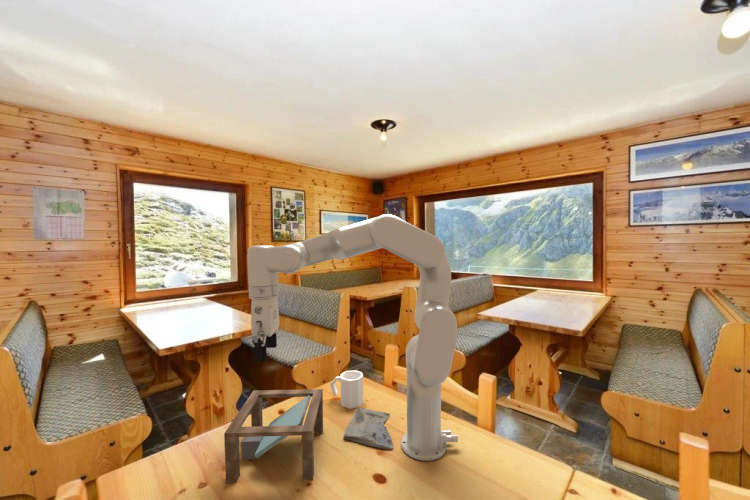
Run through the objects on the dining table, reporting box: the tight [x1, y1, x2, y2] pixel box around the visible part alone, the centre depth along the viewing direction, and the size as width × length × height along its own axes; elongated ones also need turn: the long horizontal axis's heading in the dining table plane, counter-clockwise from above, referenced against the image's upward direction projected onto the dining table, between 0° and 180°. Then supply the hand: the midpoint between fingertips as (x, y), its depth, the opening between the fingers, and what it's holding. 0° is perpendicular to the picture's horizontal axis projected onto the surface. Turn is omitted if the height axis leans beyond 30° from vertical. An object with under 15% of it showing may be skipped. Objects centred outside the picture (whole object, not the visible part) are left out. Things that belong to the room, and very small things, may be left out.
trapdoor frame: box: [223, 388, 324, 484], centre depth 90 cm, size 21×21×12 cm
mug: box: [329, 369, 364, 410], centre depth 117 cm, size 12×9×10 cm
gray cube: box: [240, 436, 264, 461], centre depth 90 cm, size 5×5×5 cm
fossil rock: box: [343, 406, 394, 451], centre depth 101 cm, size 18×15×2 cm
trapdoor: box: [254, 395, 312, 458], centre depth 90 cm, size 14×14×1 cm
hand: (265, 353), depth 88 cm, fingers open, 9 cm apart
